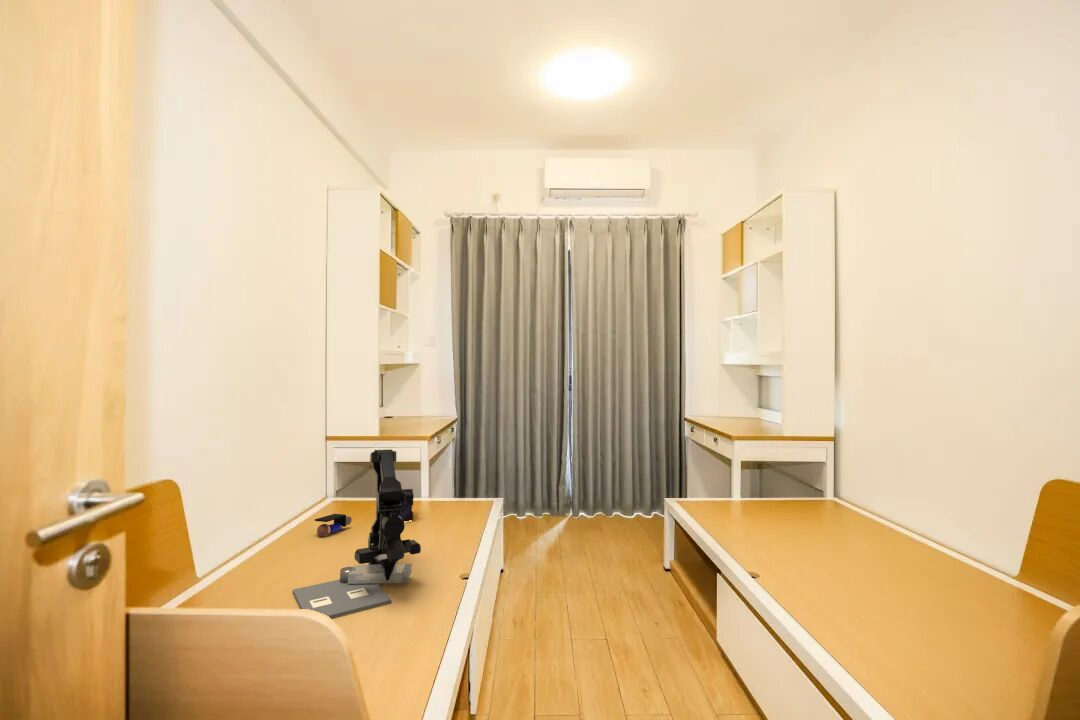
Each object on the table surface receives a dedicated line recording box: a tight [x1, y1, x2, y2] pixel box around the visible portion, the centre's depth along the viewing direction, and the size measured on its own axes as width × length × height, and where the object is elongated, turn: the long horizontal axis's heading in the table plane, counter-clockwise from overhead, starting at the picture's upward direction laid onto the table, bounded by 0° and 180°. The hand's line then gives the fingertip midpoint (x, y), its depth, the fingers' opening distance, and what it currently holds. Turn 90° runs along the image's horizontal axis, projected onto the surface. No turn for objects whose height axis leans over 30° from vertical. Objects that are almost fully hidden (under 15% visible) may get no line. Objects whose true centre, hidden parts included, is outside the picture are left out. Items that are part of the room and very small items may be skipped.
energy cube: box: [394, 488, 414, 521], centre depth 217 cm, size 12×12×12 cm
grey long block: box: [339, 563, 413, 584], centre depth 150 cm, size 21×7×3 cm, turn 97°
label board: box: [292, 578, 393, 620], centre depth 139 cm, size 22×22×1 cm
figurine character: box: [314, 513, 352, 538], centre depth 196 cm, size 7×8×15 cm
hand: (387, 580), depth 146 cm, fingers closed
